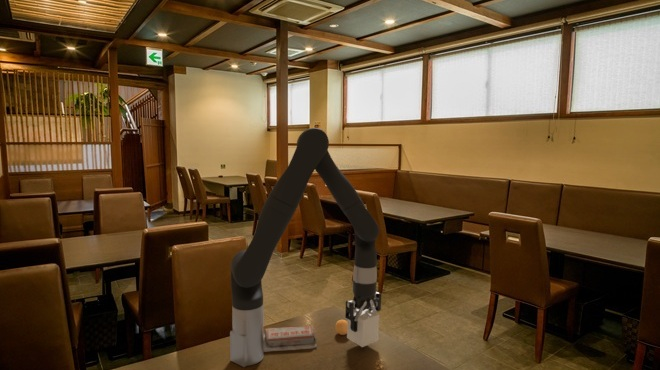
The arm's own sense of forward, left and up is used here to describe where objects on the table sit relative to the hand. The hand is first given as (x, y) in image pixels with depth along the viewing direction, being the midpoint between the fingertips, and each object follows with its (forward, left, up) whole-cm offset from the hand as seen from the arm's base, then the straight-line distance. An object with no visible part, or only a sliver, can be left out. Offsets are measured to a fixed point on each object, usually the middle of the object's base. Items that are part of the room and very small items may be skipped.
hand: (362, 327), depth 128 cm
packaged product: (-12, +21, -7) cm, 26 cm away
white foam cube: (0, 0, -4) cm, 4 cm away
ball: (+3, +10, -4) cm, 11 cm away
